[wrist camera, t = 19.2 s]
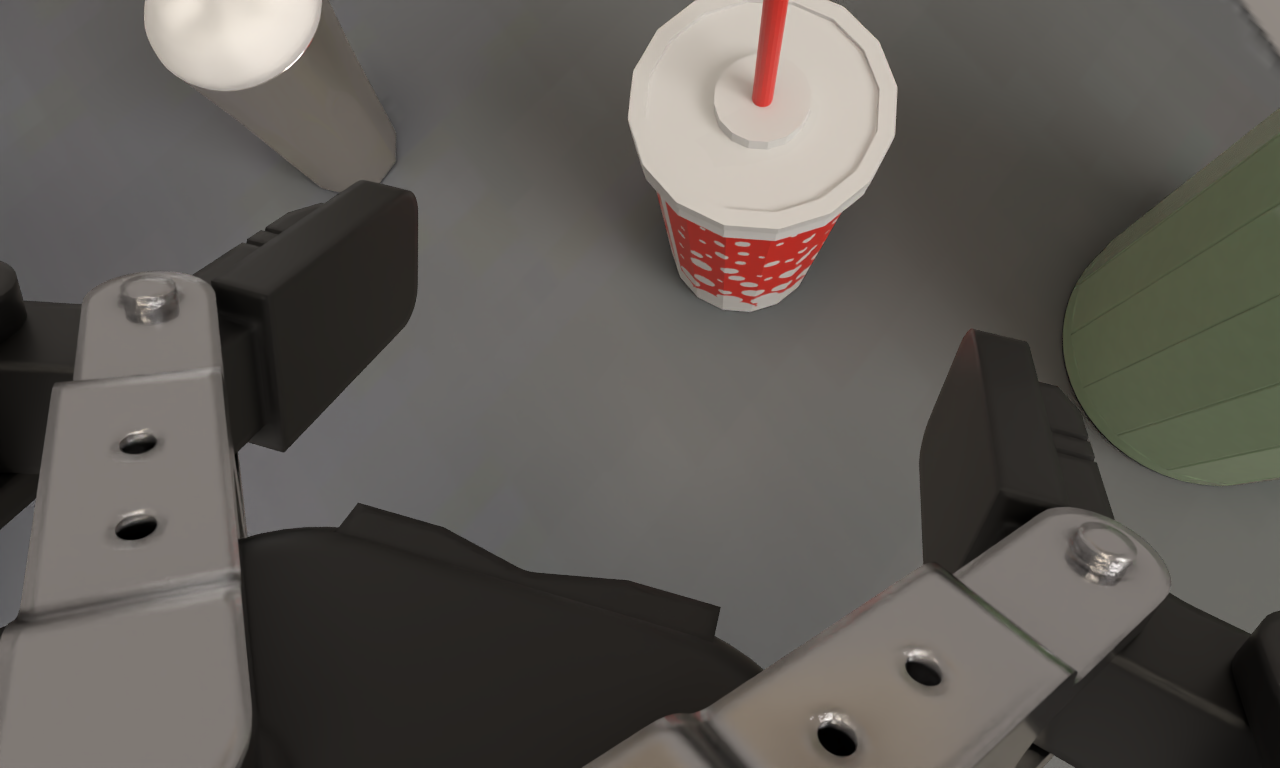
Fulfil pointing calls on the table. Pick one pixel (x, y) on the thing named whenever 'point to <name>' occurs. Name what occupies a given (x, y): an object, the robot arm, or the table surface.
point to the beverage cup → (758, 138)
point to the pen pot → (1190, 324)
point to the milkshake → (280, 80)
